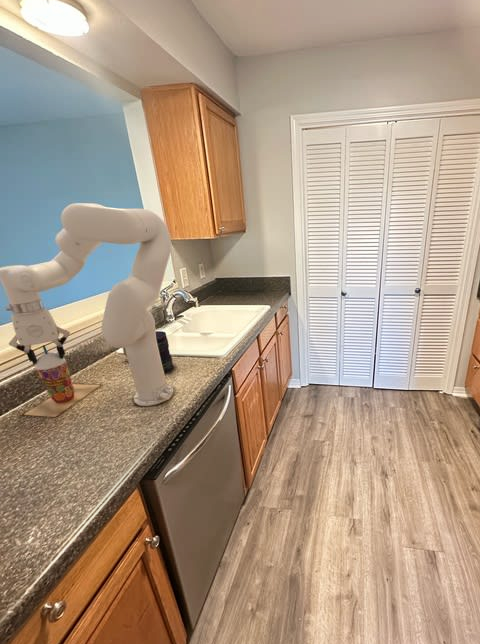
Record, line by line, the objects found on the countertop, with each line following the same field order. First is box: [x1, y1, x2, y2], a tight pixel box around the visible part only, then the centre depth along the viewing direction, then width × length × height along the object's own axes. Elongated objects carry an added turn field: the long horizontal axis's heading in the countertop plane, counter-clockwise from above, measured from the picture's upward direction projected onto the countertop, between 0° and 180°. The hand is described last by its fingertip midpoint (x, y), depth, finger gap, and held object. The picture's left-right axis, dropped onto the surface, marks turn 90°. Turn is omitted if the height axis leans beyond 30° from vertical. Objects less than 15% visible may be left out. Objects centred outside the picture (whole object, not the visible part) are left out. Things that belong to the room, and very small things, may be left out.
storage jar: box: [156, 330, 174, 375], centre depth 127 cm, size 10×10×15 cm
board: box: [23, 383, 101, 418], centre depth 112 cm, size 20×12×1 cm, turn 171°
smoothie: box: [34, 345, 75, 403], centre depth 108 cm, size 8×8×20 cm
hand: (48, 359), depth 106 cm, fingers closed on smoothie, 6 cm apart
